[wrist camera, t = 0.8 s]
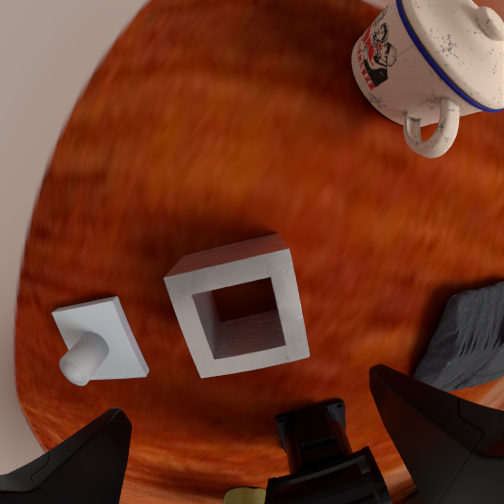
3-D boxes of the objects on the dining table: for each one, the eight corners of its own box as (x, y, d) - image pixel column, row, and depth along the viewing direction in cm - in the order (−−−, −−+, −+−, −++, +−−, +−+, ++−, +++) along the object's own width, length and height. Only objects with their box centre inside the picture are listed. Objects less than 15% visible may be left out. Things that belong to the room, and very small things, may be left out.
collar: (296, 319, 20) (309, 356, 15) (210, 338, 20) (201, 378, 15) (278, 232, 19) (289, 248, 14) (183, 255, 19) (163, 277, 14)
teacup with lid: (352, 16, 15) (414, -69, 3) (442, 61, 15) (528, 21, 4) (330, 140, 17) (433, 89, 6) (432, 181, 18) (551, 191, 7)
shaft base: (149, 370, 21) (128, 413, 15) (89, 373, 21) (63, 409, 16) (117, 295, 19) (82, 328, 14) (57, 308, 20) (20, 336, 14)
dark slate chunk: (440, 261, 20) (475, 277, 15) (538, 273, 21) (561, 283, 16) (393, 401, 23) (410, 430, 19) (502, 372, 24) (520, 388, 19)
